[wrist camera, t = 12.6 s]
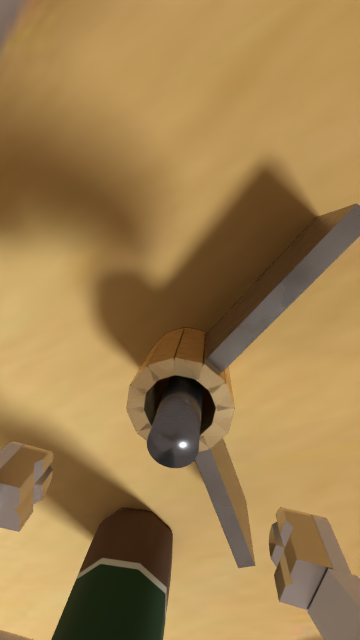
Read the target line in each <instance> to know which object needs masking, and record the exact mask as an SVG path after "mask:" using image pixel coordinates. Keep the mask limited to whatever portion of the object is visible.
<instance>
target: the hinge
mask: <svg viewBox="0 0 360 640" xmlns="http://www.w3.org/2000/svg"><path fill="white" fill-rule="evenodd" d="M359 236H360V206H359V205H358V204H354V205H351V206H348V207H345V208H342V209H339V210H336V211H333V212H330V213H327V214H324V215H321V216H318V217H316V218H315V219H314V220H313V221H312V222H311V224H310V225H309V226H308V227H307V228H306V229H305V230H304V231H303V232H302V233H301V234H300V235H299V236H298V237H297V238H296V240H295V241H294V242H293V243H292V244H291V245H290V246H289V247H288V248H287V249H286V250H285V251H284V252H283V253H282V254H281V256H280V257H279V258H278V259H277V260H276V261H275V262H274V263H273V264H272V265H271V266H270V267H269V268H268V269H267V271H266V272H265V273H264V274H263V275H262V276H261V277H260V278H259V279H258V280H257V281H256V282H255V283H254V284H253V285H252V287H251V288H250V289H249V290H248V291H247V292H246V293H245V294H244V295H243V296H242V297H241V298H240V299H239V300H238V302H237V303H236V304H235V305H234V306H233V307H232V308H231V309H230V310H229V311H228V312H227V313H226V314H225V315H224V316H223V318H222V319H221V320H220V321H219V322H218V323H217V324H216V325H215V326H214V327H213V328H212V329H211V330H210V331H209V332H208V333H207V332H206V333H205V331H201V330H196V329H191V328H186V327H185V329H184V328H181V329H178V330H175V331H172V332H168V333H166V334H164V335H163V337H162V338H161V339H160V340H159V341H158V342H157V343H156V345H155V346H154V347H153V348H152V350H151V351H150V353H149V355H148V356H147V358H146V359H145V361H144V363H143V364H142V366H141V368H140V369H139V371H138V372H137V374H136V376H135V377H134V379H133V381H132V382H131V384H130V386H129V394H128V401H127V408H126V409H127V412H128V414H129V417H130V419H131V421H132V423H133V426H134V428H135V430H136V432H137V431H138V432H137V433H138V434H139V435H140V436H141V437H143V438H144V439H145V440H147V439H148V436H149V433H150V430H151V427H152V424H153V421H154V419H155V416H156V413H157V410H158V407H159V405H160V402H161V399H162V396H163V393H164V390H165V388H166V385H167V382H168V379H167V377H171V376H174V375H178V376H183V377H188V378H192V379H196V380H197V381H198V382H199V383H200V384H202V385H203V399H202V412H201V426H200V440H199V451H198V455H197V457H196V458H195V461H196V463H197V466H198V468H199V471H200V473H201V476H202V478H203V481H204V483H205V486H206V488H207V491H208V493H209V496H210V498H211V501H212V503H213V506H214V508H215V511H216V513H217V516H218V518H219V521H220V523H221V526H222V528H223V531H224V533H225V536H226V538H227V541H228V543H229V546H230V548H231V551H232V553H233V556H234V558H235V561H236V563H237V566H238V568H242V567H249V566H255V561H254V554H253V546H252V539H251V532H250V525H249V518H248V511H247V504H246V500H245V497H244V494H243V491H242V489H241V486H240V483H239V481H238V478H237V475H236V472H235V470H234V467H233V464H232V462H231V459H230V456H229V453H228V451H227V448H226V445H225V443H224V440H223V437H224V436H225V435H226V434H227V433H228V432H229V429H230V425H231V421H232V417H233V413H234V410H235V406H234V399H233V393H232V386H231V380H230V373H229V367H228V366H229V365H230V364H231V363H232V362H233V361H234V360H235V359H236V358H237V357H238V356H239V355H240V354H241V353H242V352H243V351H244V350H245V349H246V348H247V347H248V346H249V345H250V344H251V343H252V342H253V341H254V340H255V339H256V338H257V337H258V336H259V335H260V334H261V333H262V332H263V331H264V330H265V329H266V328H267V327H268V326H269V325H270V324H271V323H272V322H273V321H274V320H275V319H276V318H277V317H278V316H279V315H280V314H281V313H282V312H283V311H284V310H285V309H286V308H288V307H289V306H290V305H291V304H292V303H293V302H294V301H295V300H296V299H297V298H298V297H299V296H300V295H301V294H302V293H303V292H304V291H305V290H306V289H307V288H308V287H309V286H310V285H311V284H312V283H313V282H314V281H315V280H316V279H317V278H318V277H319V276H320V275H321V274H322V273H323V272H324V271H325V270H326V269H327V268H328V267H329V266H330V265H331V264H332V263H333V262H334V261H335V260H336V259H337V258H338V257H339V256H340V255H341V254H342V253H343V252H344V251H345V250H346V249H347V248H348V247H349V246H350V245H351V244H352V243H353V242H354V241H355V240H356V239H357V238H358V237H359Z"/></svg>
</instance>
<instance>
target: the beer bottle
mask: <svg viewBox="0 0 360 640" xmlns="http://www.w3.org/2000/svg"><path fill="white" fill-rule="evenodd" d="M172 540H173V534H172V531H171V530H170V529H169V528H168V527H167V526H166V525H165V524H164V523H163V522H162V521H161V520H160V519H159V518H158V517H156V516H155V515H154V514H153V513H152V512H151V511H144V510H136V509H128V508H121V509H120V510H119V511H117V512H116V513H114V514H113V515H112V516H110V517H109V518H107V519H106V520H105V521H103V522H102V523H101V524H100V526H99V528H98V530H97V532H96V534H95V536H94V538H93V540H92V543H91V545H90V547H89V550H88V552H87V555H86V557H85V559H84V562H83V564H82V567H81V569H80V572H79V574H78V576H77V579H76V581H75V584H74V586H73V589H72V591H71V593H70V596H69V598H68V601H67V603H66V606H65V608H64V610H63V613H62V615H61V618H60V620H59V623H58V625H57V627H56V630H55V632H54V635H53V637H52V640H163V635H164V627H165V619H166V611H167V603H168V595H169V587H170V578H171V565H172Z"/></svg>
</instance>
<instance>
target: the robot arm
mask: <svg viewBox="0 0 360 640" xmlns="http://www.w3.org/2000/svg"><path fill="white" fill-rule="evenodd" d="M52 461H53V452H52V451H48V450H45V449H41V448H38V447H34V446H30V445H27V444H22V443H19V442H15V441H12V442H10V443H8V444H7V445H6V446H5V447H4V448H3V449H2V450H1V451H0V527H1V528H5V529H9V530H14V531H18V532H19V531H20V530H21V529H22V527H23V526H24V524H25V523H26V521H27V520H28V518H29V517H30V515H31V514H32V513H33V504H35V503H36V502H38V501H40V500H41V499H42V498H43V496H44V495H45V493H46V492H47V489H48V487H49V485H50V483H51V479H52V475H53V469H52V468H51V466H50V464H51V463H52ZM276 519H277V522H276V523H274V524H272V526H271V530H270V534H269V551H270V556H271V560H272V561H273V562H274V564H275V565H276V567H277V569H276V571H275V574H274V578H275V583H276V588H277V593H278V598H279V602H283V603H286V604H289V605H293V606H296V607H299V608H302V609H306V610H308V614H309V615H310V617H311V619H312V620H313V622H314V624H315V625H316V627H317V629H318V630H319V632H320V634H321V636H322V637H323V639H324V640H360V579H359V578H358V577H357V576H356V575H352V574H351V571H350V569H349V567H348V564H347V562H346V560H345V558H344V555H343V553H342V551H341V548H340V546H339V544H338V541H337V539H336V537H335V535H334V532H333V530H332V528H331V525H330V523H329V521H328V520H327V519H326V518H325V517H320V516H316V515H312V514H308V513H304V512H300V511H295V510H291V509H287V508H282V507H280V508H279V509H278V510H277V513H276ZM0 640H33V639H30V638H26V637H23V636H19V635H16V634H13V633H9V632H6V631H2V630H0Z"/></svg>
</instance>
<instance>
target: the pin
mask: <svg viewBox="0 0 360 640" xmlns="http://www.w3.org/2000/svg"><path fill="white" fill-rule="evenodd" d="M202 399H203V385H202V384H200V383H199V382H198V381H197V380H196V379H192V378H188V377H183V376H178V375H174V376H171V377H169V379H168V382H167V385H166V388H165V390H164V393H163V396H162V399H161V402H160V405H159V407H158V410H157V413H156V416H155V419H154V421H153V424H152V427H151V430H150V433H149V436H148V439H147V448H148V451H149V453H150V455H151V456H152V458H153V459H154V460H155V461H157V462H158V463H159V464H161V465H163V466H166V467H170V468H181V467H185V466H187V465H189V464H191V463H192V462H193V461H194V460H195V458H196V457H197V455H198V451H199V440H200V426H201V412H202Z"/></svg>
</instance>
